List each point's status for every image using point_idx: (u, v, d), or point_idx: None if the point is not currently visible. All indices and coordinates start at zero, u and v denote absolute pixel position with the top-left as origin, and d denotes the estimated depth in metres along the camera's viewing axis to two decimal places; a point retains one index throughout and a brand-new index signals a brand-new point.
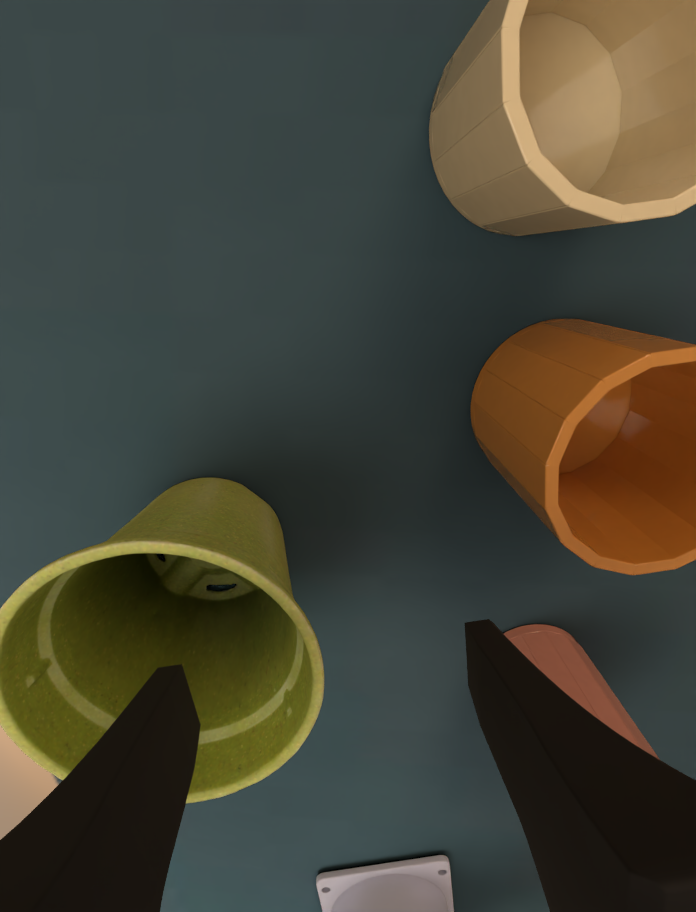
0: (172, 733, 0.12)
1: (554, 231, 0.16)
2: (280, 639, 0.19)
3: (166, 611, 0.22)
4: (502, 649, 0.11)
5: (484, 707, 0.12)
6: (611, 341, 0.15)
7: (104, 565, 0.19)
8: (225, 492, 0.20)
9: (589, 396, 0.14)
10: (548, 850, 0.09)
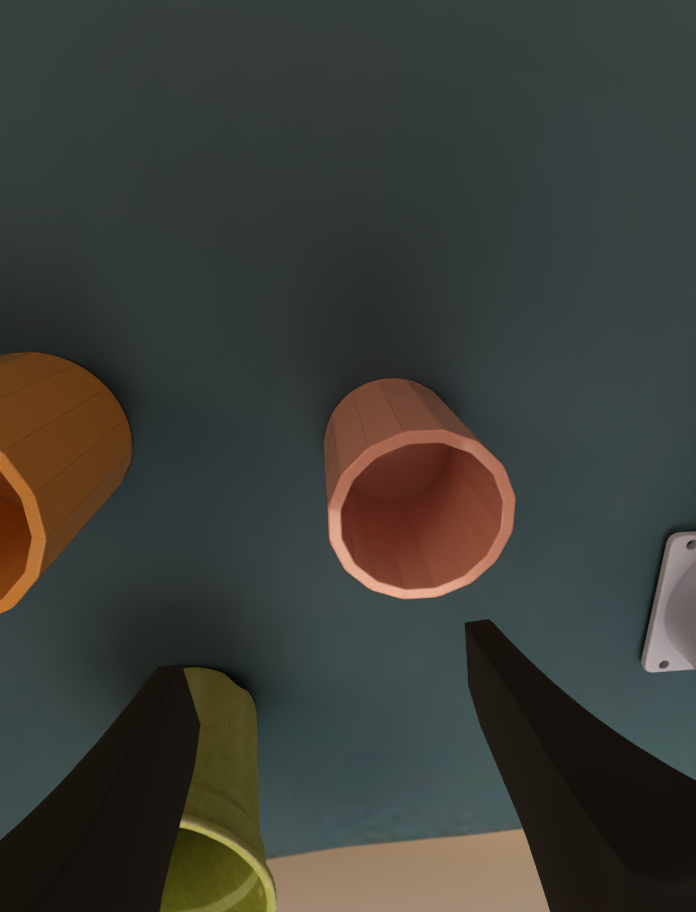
0: (172, 733, 0.12)
1: None
2: None
3: None
4: (502, 649, 0.11)
5: (484, 707, 0.12)
6: None
7: None
8: None
9: None
10: (548, 850, 0.09)
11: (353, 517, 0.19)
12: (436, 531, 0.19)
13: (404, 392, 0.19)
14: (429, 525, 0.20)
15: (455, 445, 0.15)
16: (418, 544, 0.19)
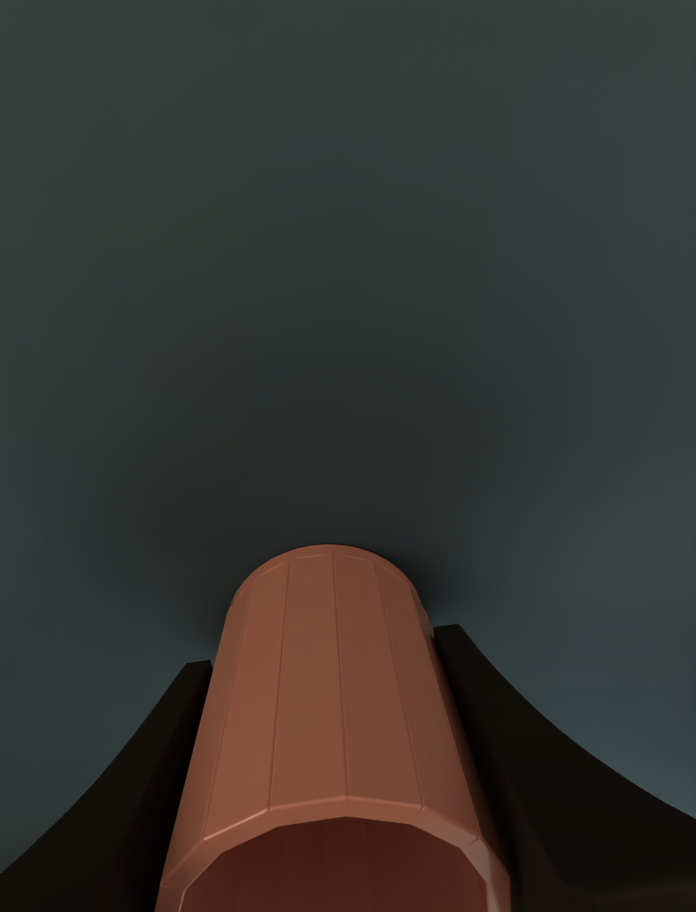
0: None
1: None
2: None
3: None
4: (467, 654, 0.11)
5: None
6: None
7: None
8: None
9: None
10: None
11: None
12: None
13: (318, 602, 0.11)
14: None
15: (376, 818, 0.07)
16: (365, 845, 0.11)
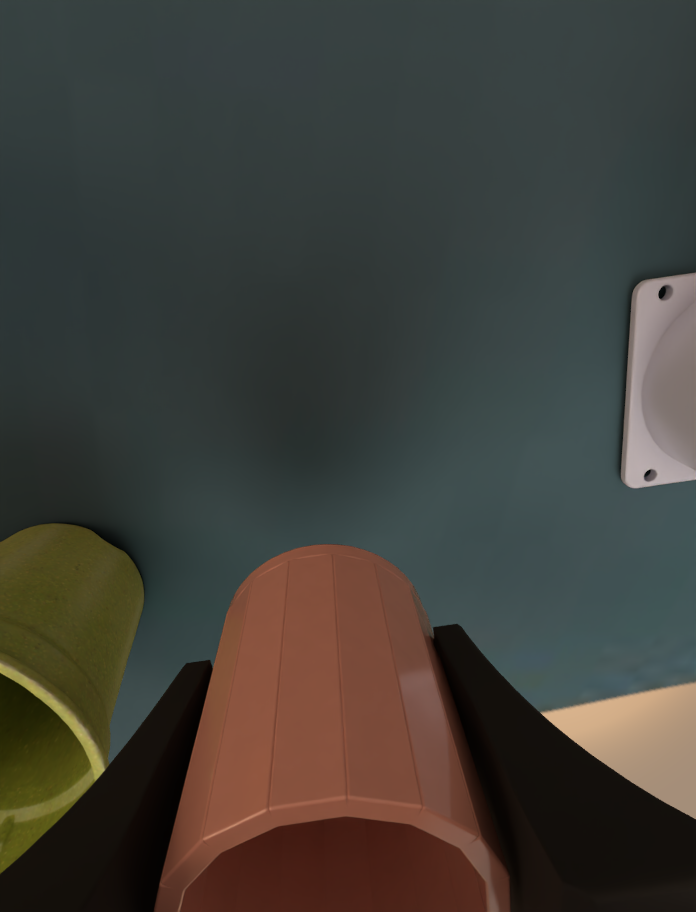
0: None
1: None
2: None
3: None
4: (466, 654, 0.11)
5: None
6: None
7: (14, 718, 0.19)
8: None
9: None
10: (504, 856, 0.09)
11: None
12: None
13: (318, 602, 0.11)
14: None
15: (375, 818, 0.07)
16: (365, 845, 0.11)
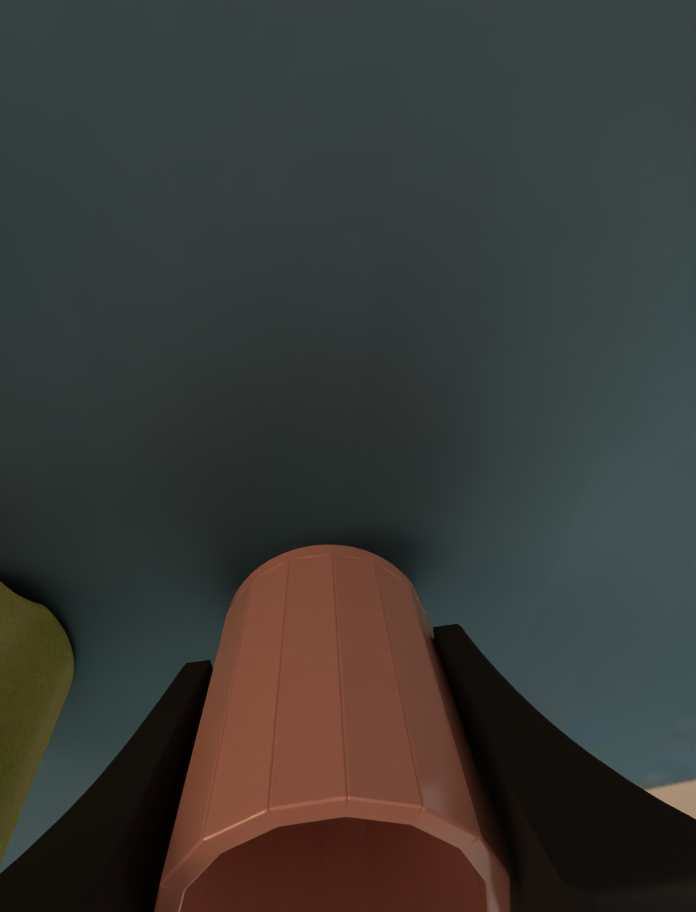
0: None
1: None
2: None
3: None
4: (466, 654, 0.11)
5: None
6: None
7: None
8: None
9: None
10: (504, 857, 0.09)
11: None
12: None
13: (318, 603, 0.11)
14: None
15: (376, 818, 0.07)
16: (365, 845, 0.11)
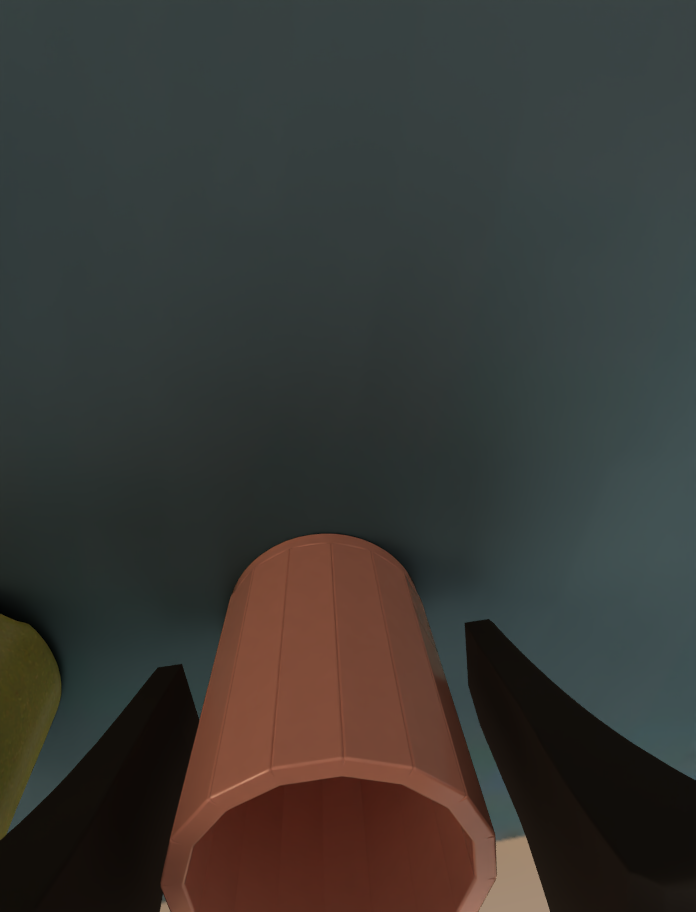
0: (172, 732, 0.12)
1: None
2: None
3: None
4: (502, 649, 0.11)
5: (484, 707, 0.12)
6: None
7: None
8: None
9: None
10: (548, 850, 0.09)
11: None
12: (389, 789, 0.12)
13: (316, 587, 0.12)
14: None
15: (370, 778, 0.08)
16: (361, 817, 0.12)
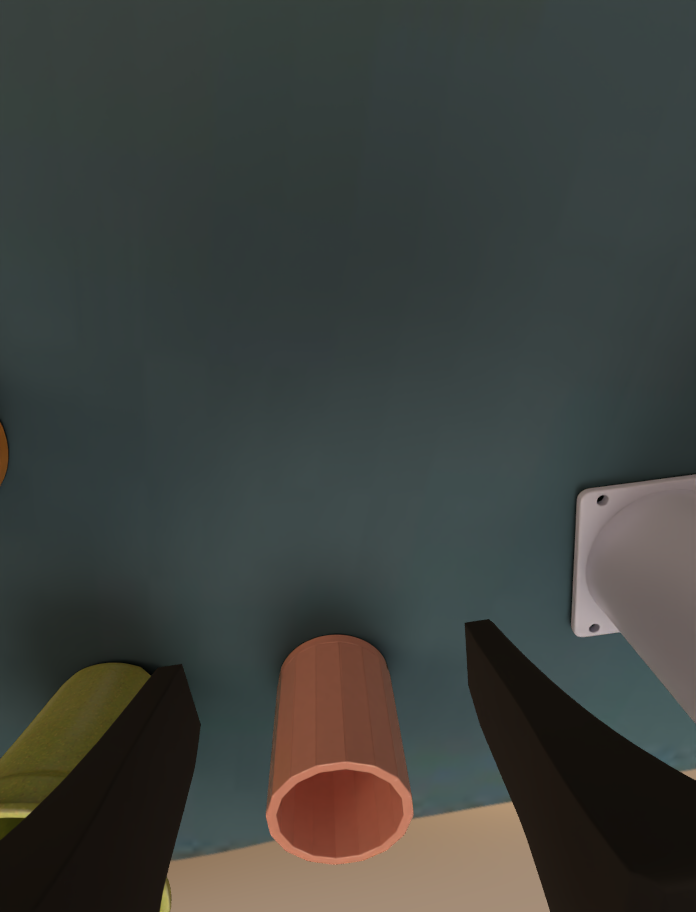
0: (172, 733, 0.12)
1: None
2: None
3: None
4: (502, 649, 0.11)
5: (484, 707, 0.12)
6: None
7: None
8: None
9: None
10: (548, 850, 0.09)
11: None
12: (368, 777, 0.23)
13: (332, 672, 0.23)
14: None
15: (357, 770, 0.19)
16: (353, 792, 0.23)
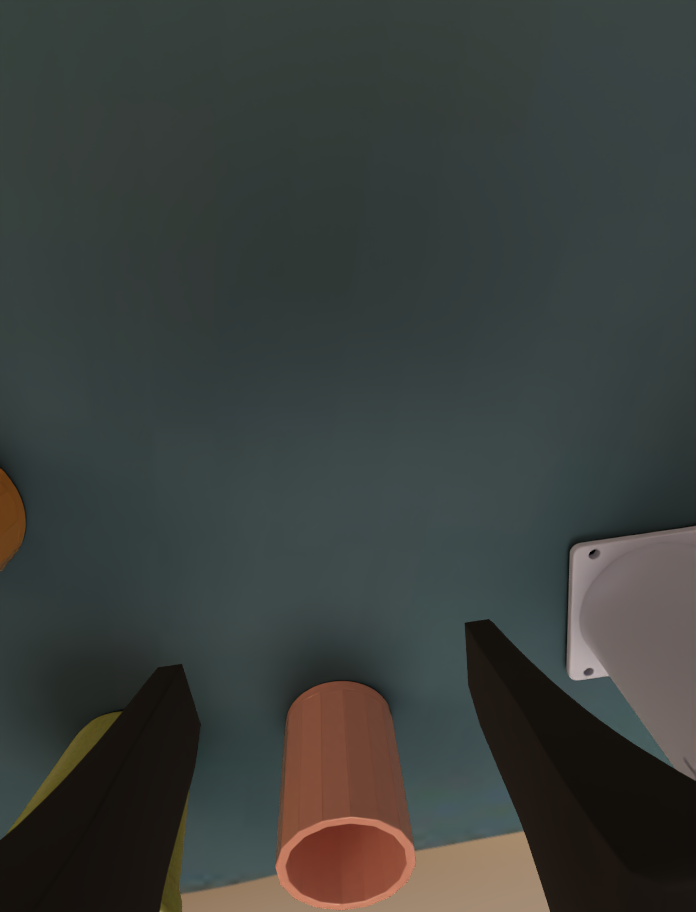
0: (172, 733, 0.12)
1: None
2: None
3: None
4: (502, 649, 0.11)
5: (484, 707, 0.12)
6: None
7: None
8: None
9: None
10: (548, 850, 0.09)
11: None
12: None
13: (336, 722, 0.24)
14: None
15: (361, 824, 0.20)
16: (359, 836, 0.24)
